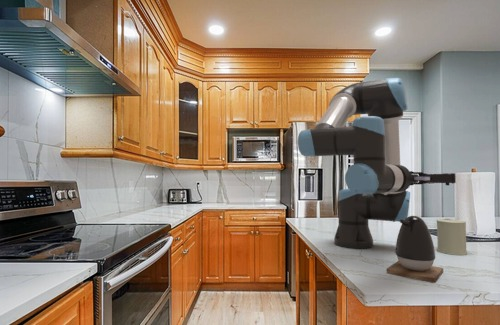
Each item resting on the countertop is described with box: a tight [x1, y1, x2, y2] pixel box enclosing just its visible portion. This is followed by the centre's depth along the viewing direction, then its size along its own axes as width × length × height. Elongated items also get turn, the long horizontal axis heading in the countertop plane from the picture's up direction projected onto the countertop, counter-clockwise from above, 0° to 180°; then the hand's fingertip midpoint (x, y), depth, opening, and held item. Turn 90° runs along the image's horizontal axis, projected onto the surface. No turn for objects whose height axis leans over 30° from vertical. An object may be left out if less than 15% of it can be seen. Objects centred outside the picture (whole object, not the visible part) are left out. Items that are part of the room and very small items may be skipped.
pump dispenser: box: [394, 215, 436, 271], centre depth 87 cm, size 10×10×15 cm
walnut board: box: [386, 260, 444, 284], centre depth 87 cm, size 12×12×1 cm
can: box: [436, 218, 468, 256], centre depth 111 cm, size 9×9×12 cm
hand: (429, 177), depth 93 cm, fingers open, 13 cm apart
